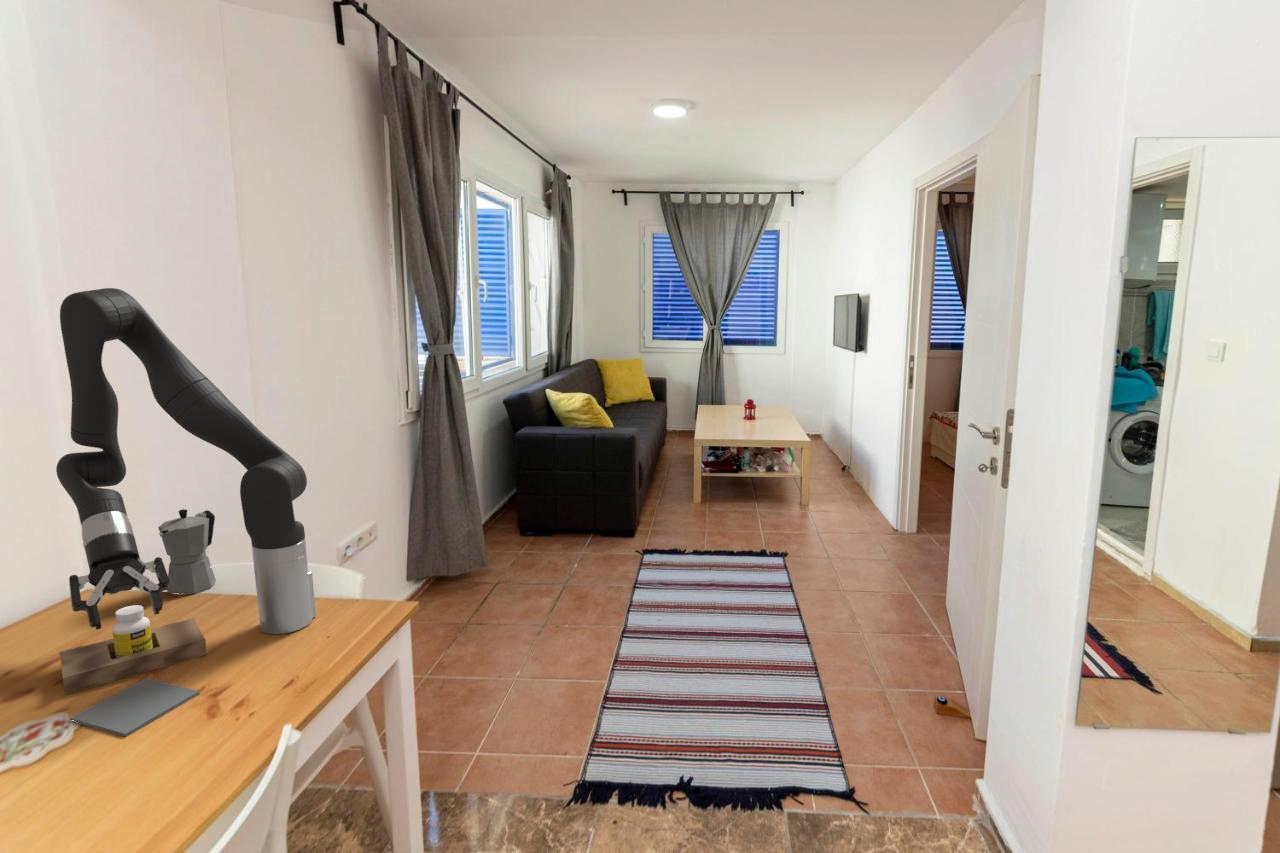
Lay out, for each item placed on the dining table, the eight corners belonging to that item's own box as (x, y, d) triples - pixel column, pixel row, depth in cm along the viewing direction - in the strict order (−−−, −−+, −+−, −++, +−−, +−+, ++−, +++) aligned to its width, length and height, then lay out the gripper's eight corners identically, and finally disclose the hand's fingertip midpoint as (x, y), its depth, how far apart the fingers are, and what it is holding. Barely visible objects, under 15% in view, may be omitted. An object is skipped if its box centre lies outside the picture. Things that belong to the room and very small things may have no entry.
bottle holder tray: (65, 694, 114) (62, 678, 114) (62, 668, 122) (59, 652, 122) (206, 654, 127) (205, 639, 127) (195, 632, 135) (193, 618, 135)
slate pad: (146, 680, 118) (146, 677, 118) (199, 693, 115) (199, 691, 115) (69, 720, 107) (69, 717, 107) (125, 736, 104) (125, 733, 103)
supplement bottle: (135, 670, 122) (127, 618, 120) (109, 667, 123) (101, 615, 121) (161, 655, 127) (155, 604, 125) (136, 652, 128) (129, 601, 126)
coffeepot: (189, 601, 149) (180, 520, 146) (149, 598, 150) (138, 518, 147) (238, 572, 164) (230, 498, 161) (200, 571, 165) (192, 497, 162)
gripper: (60, 540, 123) (77, 623, 117) (156, 523, 133) (177, 598, 127) (61, 561, 128) (78, 641, 122) (154, 542, 138) (174, 616, 132)
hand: (128, 619), depth 124 cm, fingers open, 8 cm apart
